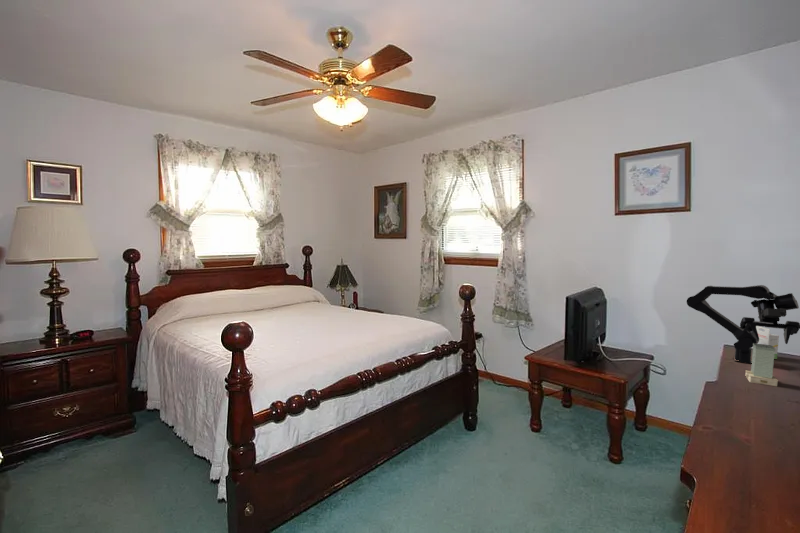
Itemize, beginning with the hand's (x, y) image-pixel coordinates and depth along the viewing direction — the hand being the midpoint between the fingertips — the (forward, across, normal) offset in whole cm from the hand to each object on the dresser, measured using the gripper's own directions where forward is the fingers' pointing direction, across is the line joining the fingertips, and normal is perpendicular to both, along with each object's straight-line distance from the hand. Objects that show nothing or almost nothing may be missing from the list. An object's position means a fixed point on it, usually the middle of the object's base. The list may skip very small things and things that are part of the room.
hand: (772, 341), depth 171 cm
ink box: (-11, +5, +31) cm, 33 cm away
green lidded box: (+18, -6, -3) cm, 19 cm away
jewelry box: (+20, -6, 0) cm, 21 cm away
